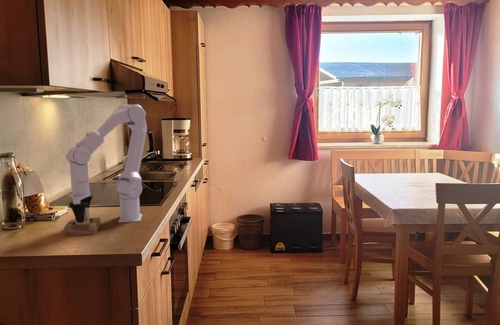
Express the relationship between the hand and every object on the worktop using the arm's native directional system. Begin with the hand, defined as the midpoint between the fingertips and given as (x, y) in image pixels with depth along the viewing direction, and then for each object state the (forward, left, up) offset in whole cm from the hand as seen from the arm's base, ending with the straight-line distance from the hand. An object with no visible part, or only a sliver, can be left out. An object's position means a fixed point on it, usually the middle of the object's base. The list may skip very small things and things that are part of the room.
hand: (82, 219), depth 145 cm
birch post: (0, 0, -3) cm, 4 cm away
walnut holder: (0, 0, -4) cm, 4 cm away
